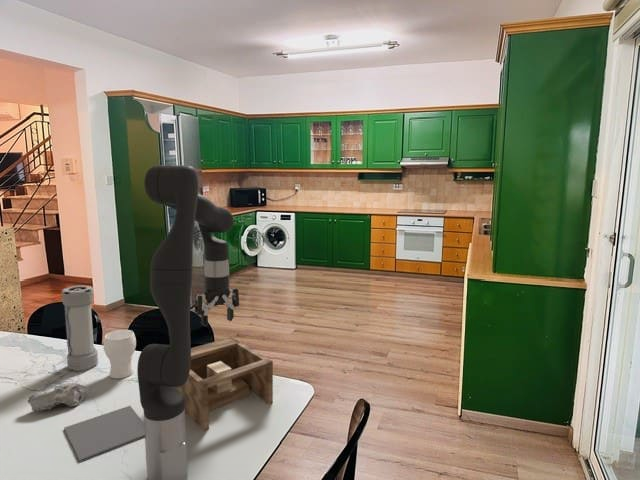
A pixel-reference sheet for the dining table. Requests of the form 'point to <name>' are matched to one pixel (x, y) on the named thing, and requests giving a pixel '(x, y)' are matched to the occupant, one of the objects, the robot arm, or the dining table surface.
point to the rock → (58, 397)
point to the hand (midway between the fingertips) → (217, 323)
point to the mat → (105, 432)
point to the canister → (79, 327)
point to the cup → (120, 352)
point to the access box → (225, 378)
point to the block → (215, 370)
